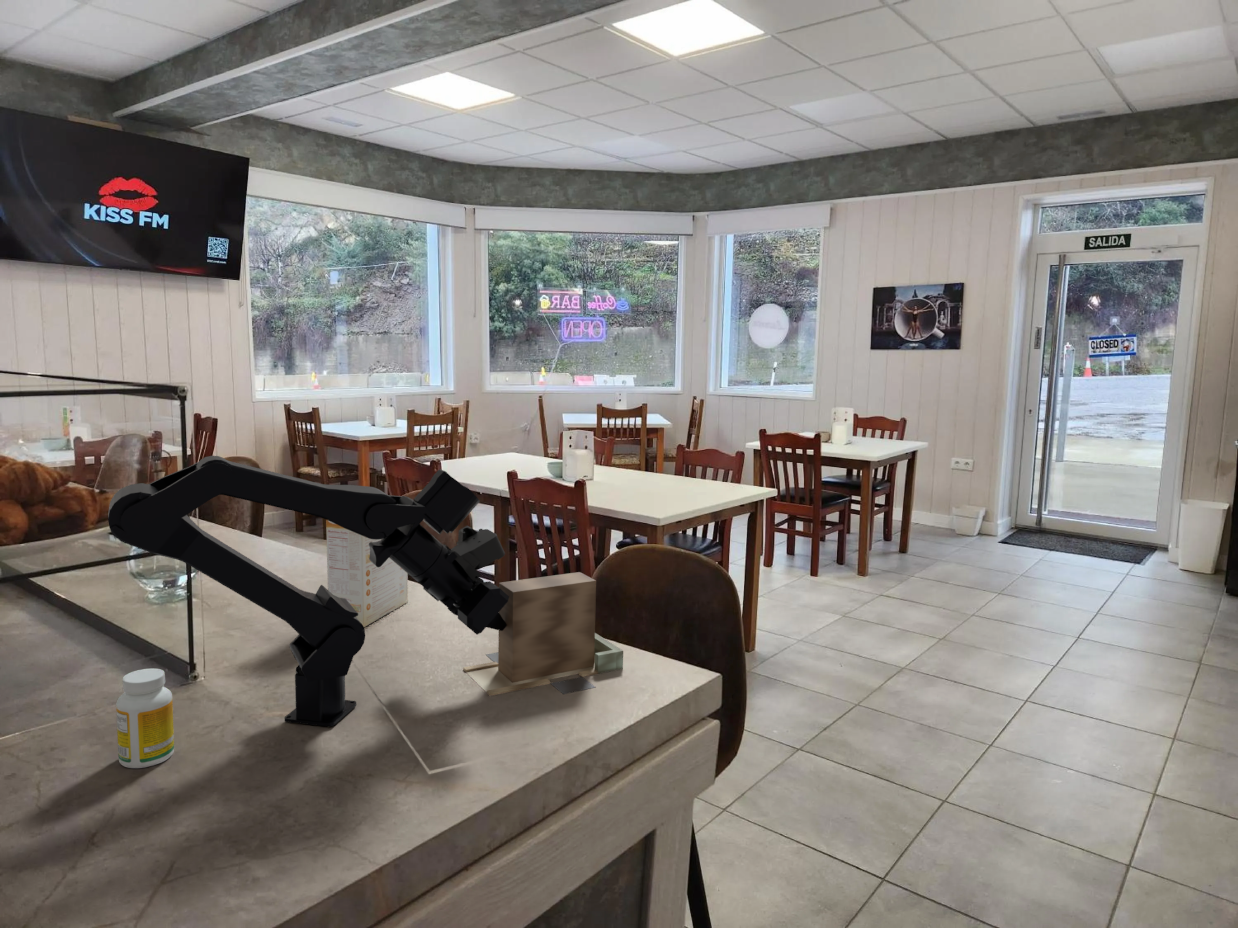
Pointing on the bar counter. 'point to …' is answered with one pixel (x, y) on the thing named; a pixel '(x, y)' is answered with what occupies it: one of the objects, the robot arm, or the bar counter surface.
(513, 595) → the walnut block
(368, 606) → the coffeecake box
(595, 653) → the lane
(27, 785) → the bar counter surface
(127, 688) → the supplement bottle
